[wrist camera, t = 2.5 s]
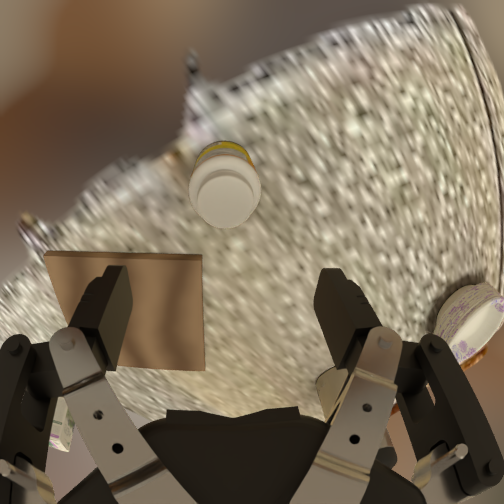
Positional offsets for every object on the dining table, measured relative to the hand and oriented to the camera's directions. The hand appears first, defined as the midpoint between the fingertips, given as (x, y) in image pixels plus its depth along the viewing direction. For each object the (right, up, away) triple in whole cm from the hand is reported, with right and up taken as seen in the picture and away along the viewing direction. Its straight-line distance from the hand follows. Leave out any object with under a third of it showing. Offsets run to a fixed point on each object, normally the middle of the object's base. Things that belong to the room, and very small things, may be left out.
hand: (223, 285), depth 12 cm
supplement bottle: (-2, +10, +16) cm, 18 cm away
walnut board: (-15, -7, +24) cm, 29 cm away
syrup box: (-35, -24, +32) cm, 53 cm away
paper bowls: (+38, -8, +31) cm, 50 cm away
